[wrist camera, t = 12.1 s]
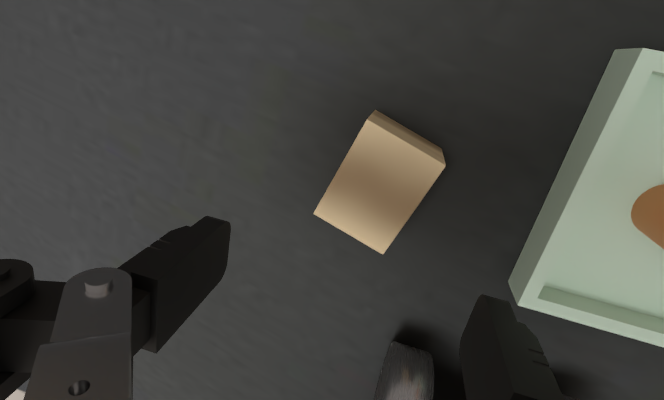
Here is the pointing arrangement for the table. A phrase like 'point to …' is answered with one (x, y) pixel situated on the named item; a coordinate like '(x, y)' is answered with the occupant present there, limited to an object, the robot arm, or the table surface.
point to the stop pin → (650, 214)
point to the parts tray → (604, 211)
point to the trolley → (409, 375)
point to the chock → (380, 182)
